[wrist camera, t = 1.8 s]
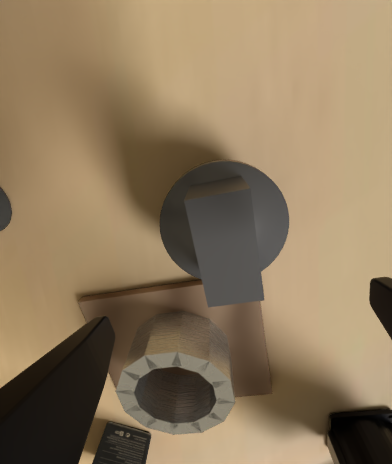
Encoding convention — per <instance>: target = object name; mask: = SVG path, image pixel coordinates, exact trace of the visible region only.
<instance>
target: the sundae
mask: <svg viewBox="0 0 392 464" xmlns="http://www.w3.org/2000/svg"><path fill="white" fill-rule="evenodd" d="M11 214H12V211H11V205H10V202H9V199H8V198H7V196H6V194H5V193H4V191H3V190H2V189H1V188H0V231H1V230H3V229H5V228H6V227H7V225H8V224H9V223H10V220H11Z"/></svg>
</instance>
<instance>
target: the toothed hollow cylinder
mask: <svg viewBox="0 0 392 464" xmlns="http://www.w3.org/2000/svg"><path fill="white" fill-rule="evenodd" d="M176 366H177V367H180V368H183V369H187V370H190V371H194V372H197V374H191V375H181V376H180V375H176V374H173V373H169V372H166V371H163V370H162V369H161V368H167V367H176ZM116 393H117V395H118V398H119V400H120V402H121V404H122V406H123V409H124V411H125V412H126V413H127V414H129V415H130V416H131V417H133V418H134V419H135V420H137V421H138V422H139V423H141V424H142V425H144V426H145V427H147V428H151V429H154V430H158V431H162V432H166V433H169V434H173V435H175V434H189V433H202V432H204V431H206V430H208V429H210V428H212V427H214V426H216V425H218V424H220V423H222V422H224V420H225V419H226V417H227V415H228V414H229V412H230V410H231V409H232V407H233V405H234V404H235V394H234V383H233V373H232V362H231V354H230V349H229V344H228V339H227V335H226V334H225V333H224V332H223V331H222V330H221V329H220V328H218V327H217V326H216V325H215V324H214V323H213V322H212V321H211V320H210V319H209V318H205V317H202V316H199V315H196V314H192V313H189V312H186V311H177V312H170V313H162V314H156V315H155V316H154V317H152V318H151V319H149V320H148V321H147V322H145V323H144V324H143V325H141V326H140V327H138V329H137V332H136V334H135V337H134V340H133V342H132V345H131V348H130V351H129V353H128V356H127V359H126V361H125V364H124V367H123V369H122V373H121V376H120V379H119V382H118V386H117V389H116Z"/></svg>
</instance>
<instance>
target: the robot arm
mask: <svg viewBox="0 0 392 464" xmlns="http://www.w3.org/2000/svg"><path fill="white" fill-rule="evenodd" d="M369 301H370V305H371V307H372V309H373V310H374V312H375V314H376V315H377V317H378V318H379V320H380V322H381V323H382V325H383V326H384V328H385V330H386V331H387V333H388V334H389V336H390V338H391V339H392V278H389V277H380V278H373V279H372V280H371V282H370V296H369ZM114 343H115V332H114V329H113V327H112V324H111V322H110V320H109V318H108V316H98V317H95V318H93V319H92V320H91V321H89V322H88V323H87V324H85V325H84V326H83V327H81V328H80V329H79V330H77V331H76V332H75V333H73V334H72V335H71V336H69V337H68V338H67V339H65V340H64V341H63V342H61V343H60V344H59V345H57V346H56V347H55V348H53V349H52V350H51V351H49V352H48V353H47V354H45V355H44V356H43V357H41V358H40V359H39V360H37V361H36V362H35V363H33V364H32V365H31V366H29V367H28V368H27V369H26V370H24V371H23V372H22V373H20V374H19V375H18V376H16V377H15V378H14V379H12V380H11V381H10V382H8V383H7V384H6V385H4V386H3V387H2V388H0V464H78V463H79V460H80V457H81V454H82V451H83V448H84V445H85V442H86V439H87V436H88V433H89V430H90V427H91V424H92V421H93V418H94V415H95V412H96V409H97V406H98V403H99V400H100V397H101V394H102V391H103V388H104V385H105V381H106V377H107V373H108V369H109V365H110V360H111V356H112V351H113V347H114ZM327 446H328V449H329V451H330V454H331V457H332V459H333V462H334V464H392V410H375V411H362V412H348V413H335V414H331V415H330V416H329V430H328V432H327Z"/></svg>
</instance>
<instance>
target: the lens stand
mask: <svg viewBox="0 0 392 464" xmlns="http://www.w3.org/2000/svg"><path fill="white" fill-rule="evenodd" d="M78 304H79V306H80V308H81V311H82V313H83V315H84V317H85V320H86V322H87V323H88V322H89V321H91V320H92V319H93V318H95V317H98V316H108V318H109V320H110V322H111V324H112V327H113V329H114V332H115V343H114V347H113V351H112V356H111V360H110V365H109V369H108V371H109V373H110V376H111V378H112V380H113V382H114V385H115V387H116V389H117V386H118V382H119V379H120V376H121V373H122V369H123V367H124V364H125V361H126V359H127V356H128V353H129V351H130V348H131V345H132V342H133V340H134V337H135V334H136V332H137V329H138V327H140V326H141V325H143V324H144V323H145V322H147V321H148V320H149V319H151V318H152V317H154V316H155V315H156V314H162V313H170V312H177V311H186V312H189V313H192V314H196V315H199V316H202V317H205V318H209V319H210V320H211V321H212V322H213V323H214V324H215V325H216V326H217V327H218V328H220V329H221V330H222V331H223V332H224V333H225V334H226V335H227V339H228V344H229V349H230V354H231V362H232V373H233V383H234V394H235V397H241V396H253V395H264V394H272V387H271V380H270V372H269V364H268V357H267V349H266V342H265V334H264V326H263V319H262V311H261V304H260V301H254V302H247V303H239V304H231V305H224V306H216V307H209V308H208V305H207V301H206V296H205V292H204V287H203V283H202V280H195V281H188V282H182V283H175V284H168V285H161V286H154V287H147V288H140V289H133V290H127V291H120V292H113V293H106V294H99V295H92V296H85V297H82V298H81V299H80V300H79V302H78ZM161 369H162V370H163V371H166V372H169V373H173V374H176V375H180V376H181V375H191V374H197V372H194V371H190V370H187V369H183V368H180V367H177V366H176V367H167V368H161Z"/></svg>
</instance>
